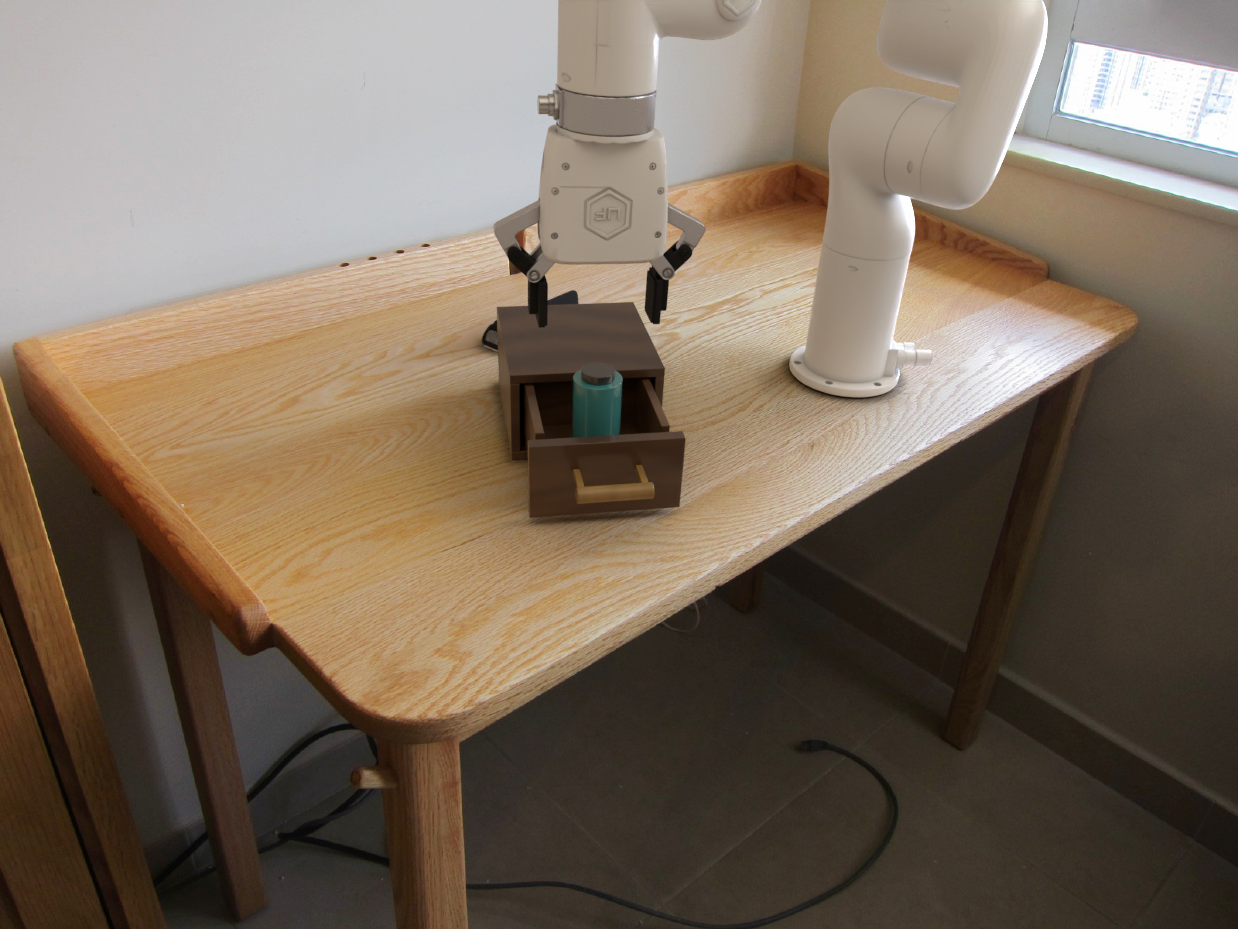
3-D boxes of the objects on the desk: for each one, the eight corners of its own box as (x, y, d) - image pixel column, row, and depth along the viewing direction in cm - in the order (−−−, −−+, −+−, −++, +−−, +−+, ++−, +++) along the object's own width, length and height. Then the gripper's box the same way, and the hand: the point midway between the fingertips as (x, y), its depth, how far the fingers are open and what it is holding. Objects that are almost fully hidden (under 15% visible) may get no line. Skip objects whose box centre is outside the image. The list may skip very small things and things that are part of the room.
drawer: (691, 535, 85) (698, 464, 81) (535, 548, 83) (534, 475, 79) (646, 425, 101) (651, 361, 97) (514, 433, 98) (513, 367, 94)
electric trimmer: (586, 316, 126) (586, 292, 124) (502, 354, 115) (501, 329, 114) (563, 308, 128) (564, 285, 126) (479, 344, 117) (478, 320, 115)
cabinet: (659, 450, 99) (665, 368, 94) (511, 460, 96) (509, 375, 91) (629, 377, 112) (633, 301, 107) (498, 384, 109) (496, 306, 104)
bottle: (618, 453, 94) (622, 359, 89) (618, 478, 90) (623, 382, 85) (572, 451, 94) (574, 357, 88) (570, 477, 90) (572, 380, 85)
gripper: (495, 123, 70) (498, 341, 79) (728, 125, 73) (705, 335, 82) (488, 99, 76) (492, 304, 85) (703, 102, 79) (684, 299, 89)
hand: (597, 319), depth 84 cm, fingers open, 9 cm apart
